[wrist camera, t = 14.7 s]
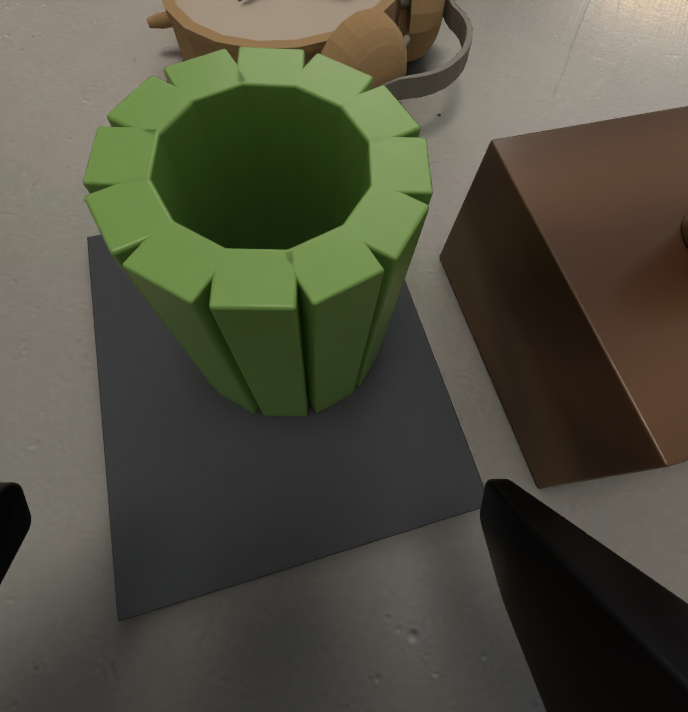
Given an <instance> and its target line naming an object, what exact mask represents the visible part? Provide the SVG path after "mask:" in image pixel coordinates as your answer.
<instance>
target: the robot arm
mask: <svg viewBox="0 0 688 712" xmlns="http://www.w3.org/2000/svg"><path fill="white" fill-rule="evenodd" d="M480 520H481V525H482V529H483V532H484V536H485V540H486V543H487V547H488V550H489V554H490V558H491V561H492V565H493V568H494V572H495V576H496V579H497V583H498V586H499V590H500V593H501V596H502V599H503V602H504V605H505V608H506V610H507V613H508V616H509V618H510V621H511V623H512V626H513V628H514V631H515V633H516V636H517V638H518V641H519V643H520V646H521V649H522V651H523V654H524V656H525V659H526V661H527V664H528V666H529V669H530V671H531V674H532V677H533V679H534V682H535V684H536V687H537V689H538V692H539V694H540V697H541V699H542V702H543V705H544V707H545V710H546V712H688V603H686V602H685V601H683V600H682V599H680V598H679V597H677V596H676V595H675V594H673V593H672V592H670V591H669V590H667V589H666V588H665V587H663V586H662V585H660V584H659V583H657V582H656V581H654V580H653V579H652V578H650V577H649V576H647V575H646V574H644V573H643V572H641V571H640V570H639V569H637V568H636V567H634V566H633V565H631V564H630V563H629V562H627V561H626V560H624V559H623V558H621V557H620V556H618V555H617V554H616V553H614V552H613V551H611V550H610V549H608V548H607V547H605V546H604V545H603V544H601V543H600V542H598V541H597V540H595V539H594V538H593V537H591V536H590V535H588V534H587V533H585V532H584V531H582V530H581V529H580V528H578V527H577V526H575V525H574V524H572V523H571V522H569V521H568V520H567V519H565V518H564V517H562V516H561V515H559V514H558V513H557V512H555V511H554V510H552V509H551V508H549V507H548V506H546V505H545V504H544V503H542V502H541V501H539V500H538V499H536V498H535V497H533V496H532V495H531V494H529V493H528V492H526V491H525V490H523V489H522V488H521V487H519V486H518V485H516V484H515V483H513V482H512V481H510V480H508V479H490V480H488V481H487V482H486V485H485V489H484V494H483V499H482V504H481V509H480ZM30 525H31V514H30V511H29V508H28V505H27V502H26V499H25V496H24V493H23V490H22V487H21V486H20V485H19V484H18V483H14V482H0V584H1V582H2V580H3V578H4V577H5V575H6V573H7V571H8V569H9V567H10V565H11V563H12V561H13V559H14V557H15V555H16V553H17V552H18V550H19V548H20V546H21V544H22V542H23V540H24V538H25V536H26V534H27V532H28V530H29V528H30Z"/></svg>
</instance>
